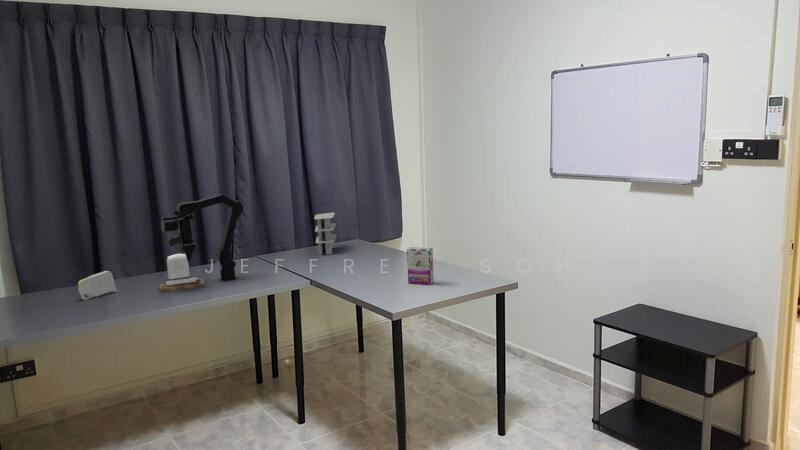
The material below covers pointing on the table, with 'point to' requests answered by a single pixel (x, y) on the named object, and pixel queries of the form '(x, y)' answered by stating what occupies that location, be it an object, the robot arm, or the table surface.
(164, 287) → the walnut board
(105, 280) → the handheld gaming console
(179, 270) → the photo printer
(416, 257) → the candy bar box
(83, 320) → the table surface
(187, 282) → the bar
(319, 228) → the file organizer
